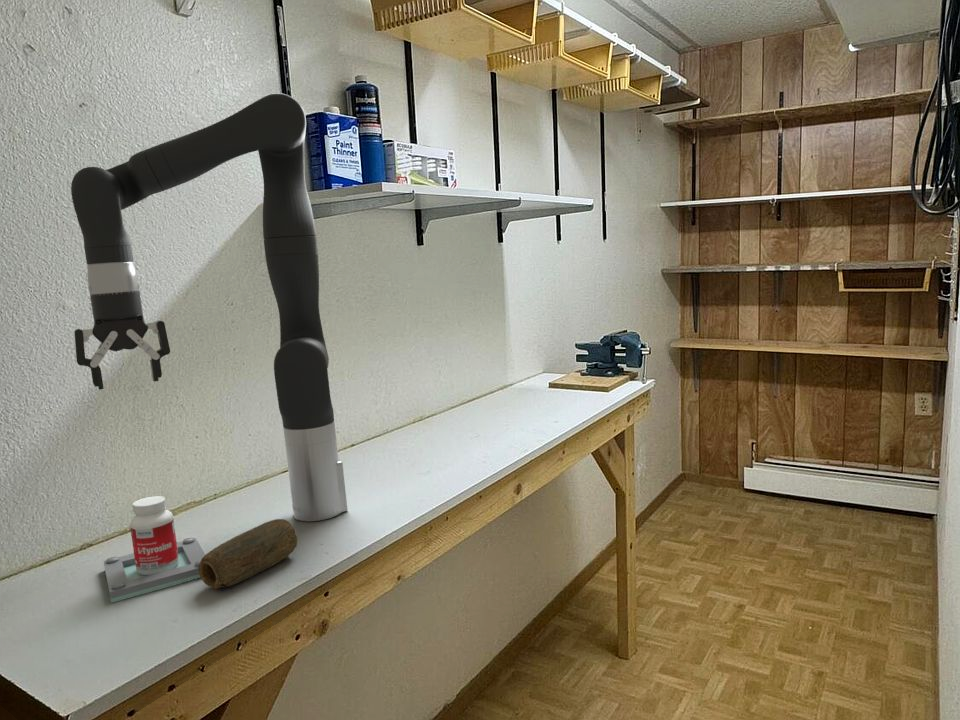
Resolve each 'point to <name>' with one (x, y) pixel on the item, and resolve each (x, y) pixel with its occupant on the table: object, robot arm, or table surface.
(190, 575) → the base plate
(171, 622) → the table surface
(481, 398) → the table surface
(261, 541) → the brown textured cylinder
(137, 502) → the pill bottle
